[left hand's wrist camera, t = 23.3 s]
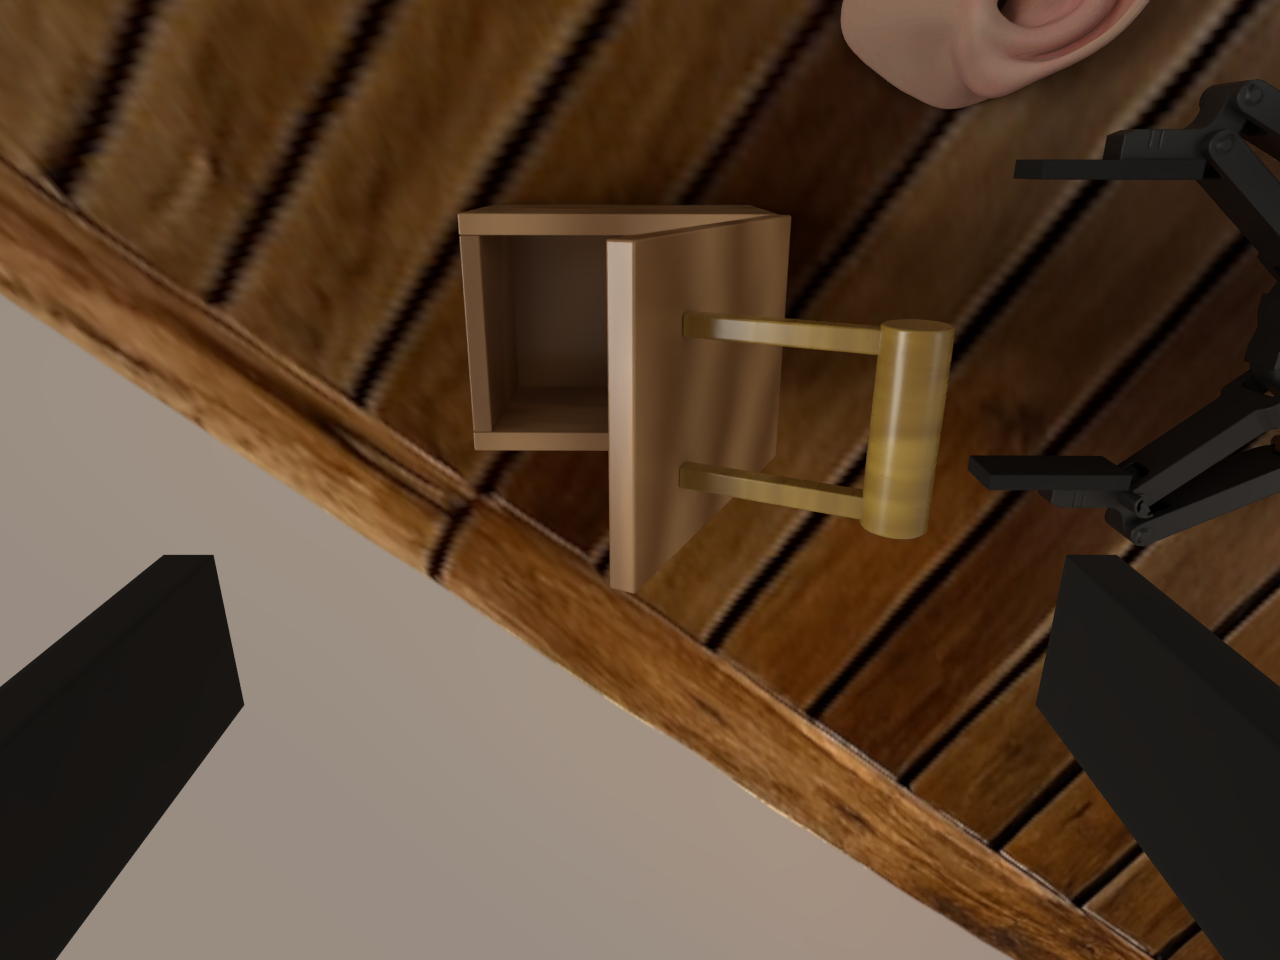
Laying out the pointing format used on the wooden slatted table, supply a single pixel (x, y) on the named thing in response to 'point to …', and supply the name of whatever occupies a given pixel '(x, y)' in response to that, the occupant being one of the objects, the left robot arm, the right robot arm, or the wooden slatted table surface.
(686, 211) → the chest
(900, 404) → the lid
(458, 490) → the wooden slatted table surface
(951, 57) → the anatomical model
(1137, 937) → the wooden slatted table surface
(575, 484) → the wooden slatted table surface
